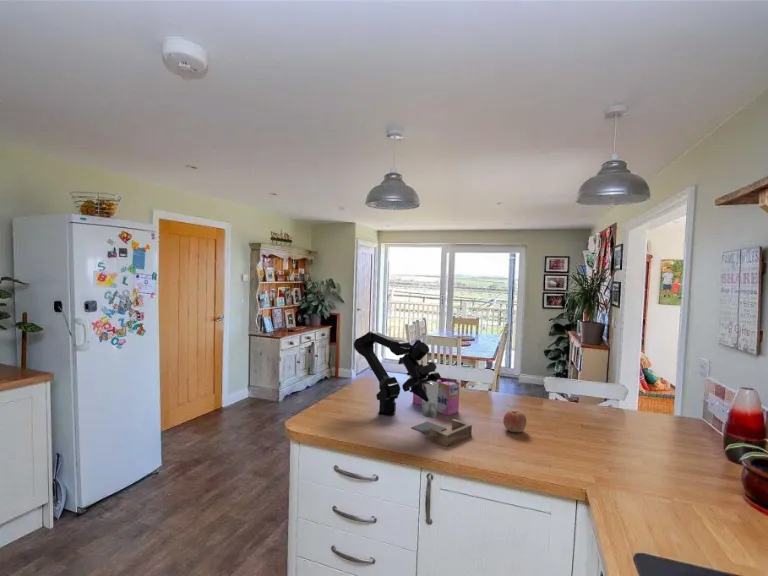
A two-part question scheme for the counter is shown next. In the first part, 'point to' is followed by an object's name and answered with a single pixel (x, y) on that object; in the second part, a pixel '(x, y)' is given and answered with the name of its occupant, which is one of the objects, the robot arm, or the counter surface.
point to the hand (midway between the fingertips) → (432, 399)
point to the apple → (514, 421)
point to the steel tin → (430, 399)
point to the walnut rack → (451, 433)
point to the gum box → (445, 396)
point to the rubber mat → (427, 427)
